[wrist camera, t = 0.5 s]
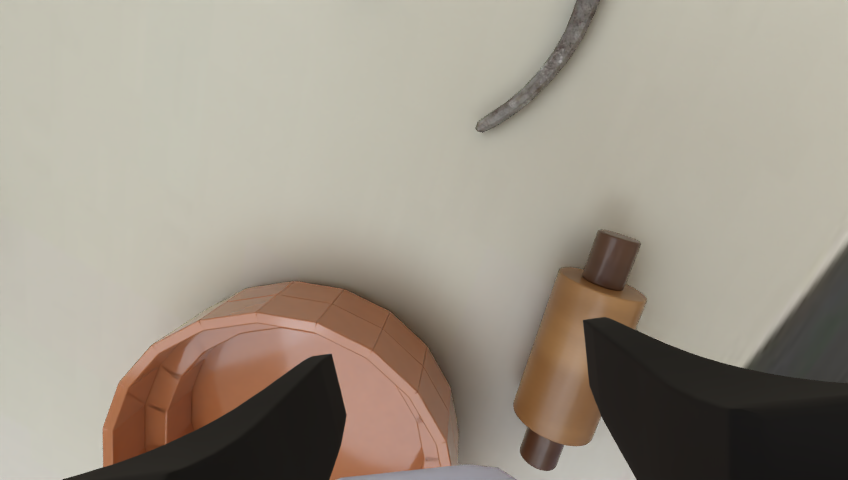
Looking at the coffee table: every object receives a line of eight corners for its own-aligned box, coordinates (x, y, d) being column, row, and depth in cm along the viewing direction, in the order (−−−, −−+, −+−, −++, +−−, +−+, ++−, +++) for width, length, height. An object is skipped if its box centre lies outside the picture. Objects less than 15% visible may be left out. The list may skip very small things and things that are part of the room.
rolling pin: (564, 442, 25) (587, 497, 21) (495, 424, 25) (505, 476, 21) (643, 237, 22) (684, 258, 18) (565, 216, 22) (591, 233, 18)
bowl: (479, 532, 26) (481, 623, 21) (213, 552, 28) (159, 639, 23) (428, 257, 23) (418, 288, 18) (134, 301, 25) (55, 340, 20)
